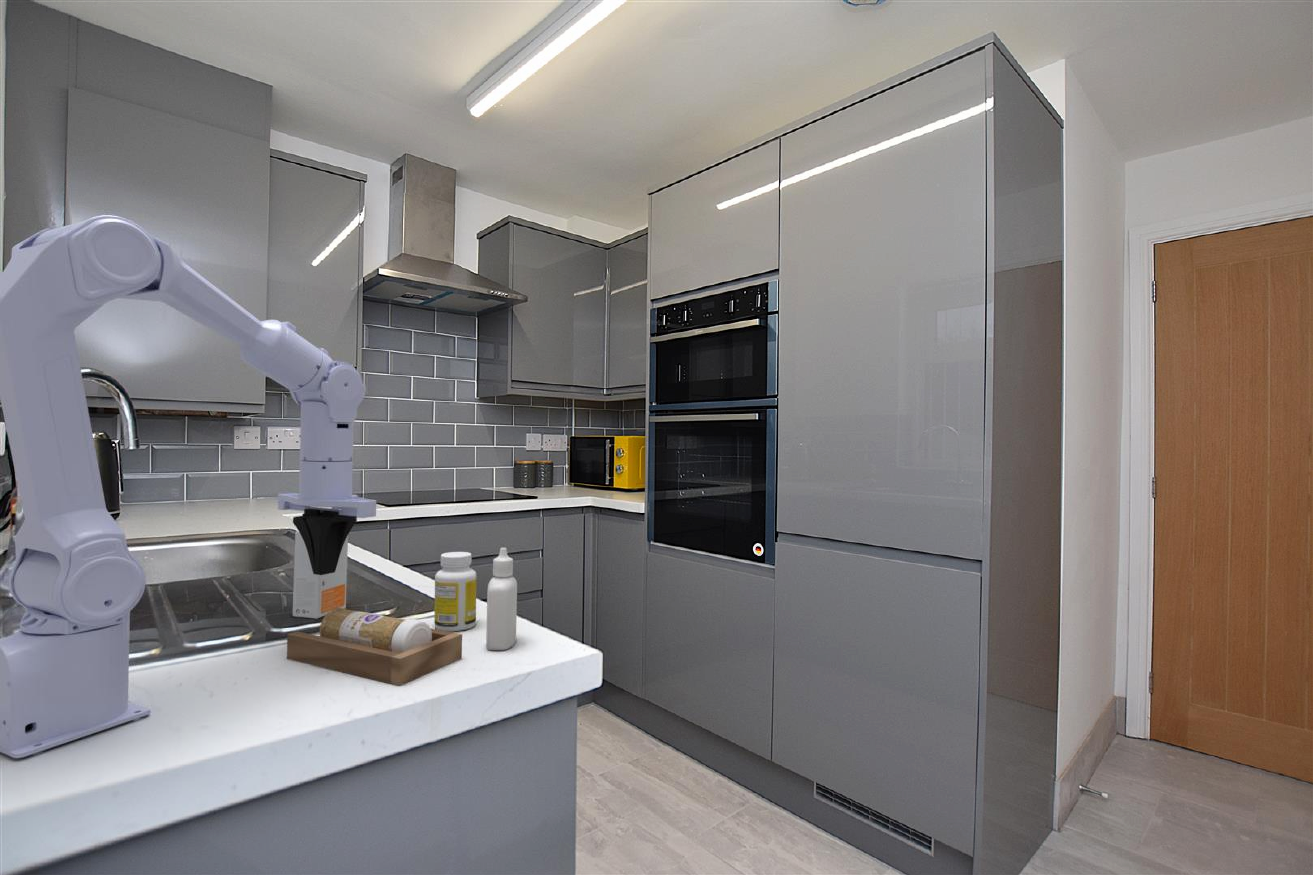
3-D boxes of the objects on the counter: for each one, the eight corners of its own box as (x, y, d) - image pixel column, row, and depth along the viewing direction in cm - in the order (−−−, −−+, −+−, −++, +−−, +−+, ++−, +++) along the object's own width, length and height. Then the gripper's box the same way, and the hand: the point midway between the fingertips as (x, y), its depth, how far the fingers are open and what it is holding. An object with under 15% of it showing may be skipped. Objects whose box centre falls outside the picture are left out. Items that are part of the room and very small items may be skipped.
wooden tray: (399, 685, 67) (400, 658, 67) (286, 658, 74) (287, 634, 74) (461, 658, 76) (462, 634, 76) (355, 636, 83) (355, 614, 83)
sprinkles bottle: (340, 599, 80) (425, 612, 74) (354, 627, 82) (438, 642, 76) (311, 625, 76) (398, 641, 71) (326, 654, 78) (412, 671, 72)
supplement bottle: (469, 618, 92) (471, 549, 92) (480, 629, 87) (482, 556, 87) (430, 623, 89) (431, 552, 89) (439, 634, 84) (440, 559, 84)
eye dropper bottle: (471, 647, 80) (474, 549, 80) (503, 635, 85) (505, 543, 85) (499, 653, 78) (501, 553, 78) (529, 640, 83) (531, 546, 83)
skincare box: (318, 619, 90) (320, 532, 90) (291, 617, 91) (293, 531, 91) (347, 608, 96) (349, 526, 96) (322, 606, 97) (324, 525, 97)
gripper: (397, 462, 79) (394, 573, 79) (314, 457, 85) (312, 561, 85) (348, 463, 73) (345, 585, 73) (262, 459, 79) (260, 571, 79)
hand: (324, 573), depth 79 cm, fingers closed
